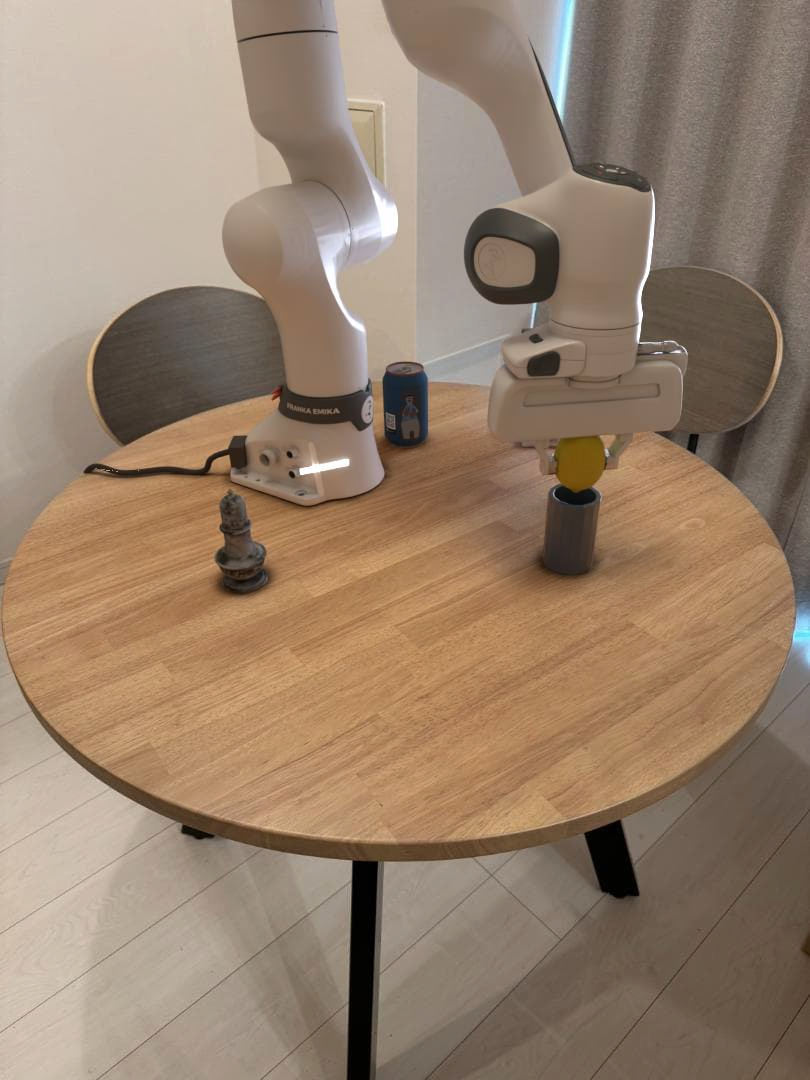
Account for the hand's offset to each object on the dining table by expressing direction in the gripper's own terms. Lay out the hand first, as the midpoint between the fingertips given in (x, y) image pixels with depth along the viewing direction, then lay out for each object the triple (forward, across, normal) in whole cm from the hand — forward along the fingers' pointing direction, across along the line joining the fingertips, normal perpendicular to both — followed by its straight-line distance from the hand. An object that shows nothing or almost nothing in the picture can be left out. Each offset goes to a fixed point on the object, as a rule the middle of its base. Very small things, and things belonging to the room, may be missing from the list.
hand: (577, 470), depth 81 cm
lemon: (+3, 0, 0) cm, 3 cm away
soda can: (+12, +14, -37) cm, 42 cm away
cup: (+12, 0, 0) cm, 12 cm away
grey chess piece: (+12, +38, -2) cm, 40 cm away
